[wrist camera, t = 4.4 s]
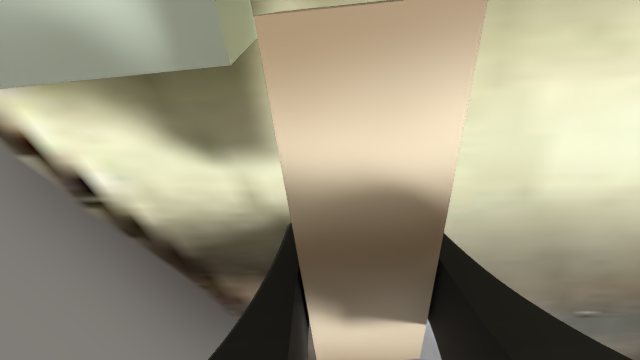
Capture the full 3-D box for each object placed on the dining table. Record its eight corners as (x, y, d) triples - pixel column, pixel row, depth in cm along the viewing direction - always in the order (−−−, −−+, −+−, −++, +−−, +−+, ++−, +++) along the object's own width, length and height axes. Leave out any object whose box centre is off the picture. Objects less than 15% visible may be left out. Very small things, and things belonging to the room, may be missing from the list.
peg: (390, 266, 15) (420, 358, 11) (315, 272, 15) (318, 366, 11) (407, -2, 9) (489, -9, 5) (277, 11, 9) (253, 16, 5)
